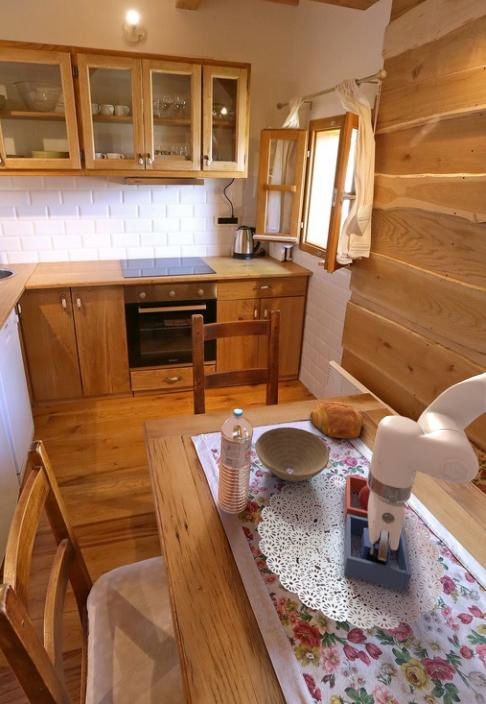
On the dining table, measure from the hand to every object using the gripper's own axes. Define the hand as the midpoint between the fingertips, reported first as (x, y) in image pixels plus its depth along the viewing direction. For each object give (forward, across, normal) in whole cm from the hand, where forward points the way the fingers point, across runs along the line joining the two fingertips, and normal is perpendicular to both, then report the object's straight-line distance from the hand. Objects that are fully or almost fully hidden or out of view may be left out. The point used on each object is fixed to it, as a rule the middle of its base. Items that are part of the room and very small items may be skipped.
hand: (373, 555), depth 80 cm
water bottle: (+2, +5, +30) cm, 30 cm away
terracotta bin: (+2, +12, 0) cm, 13 cm away
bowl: (+2, +20, +19) cm, 28 cm away
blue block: (0, 0, 0) cm, 0 cm away
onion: (+1, +12, 0) cm, 13 cm away
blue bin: (+2, 0, 0) cm, 2 cm away
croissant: (+2, +45, +8) cm, 46 cm away
